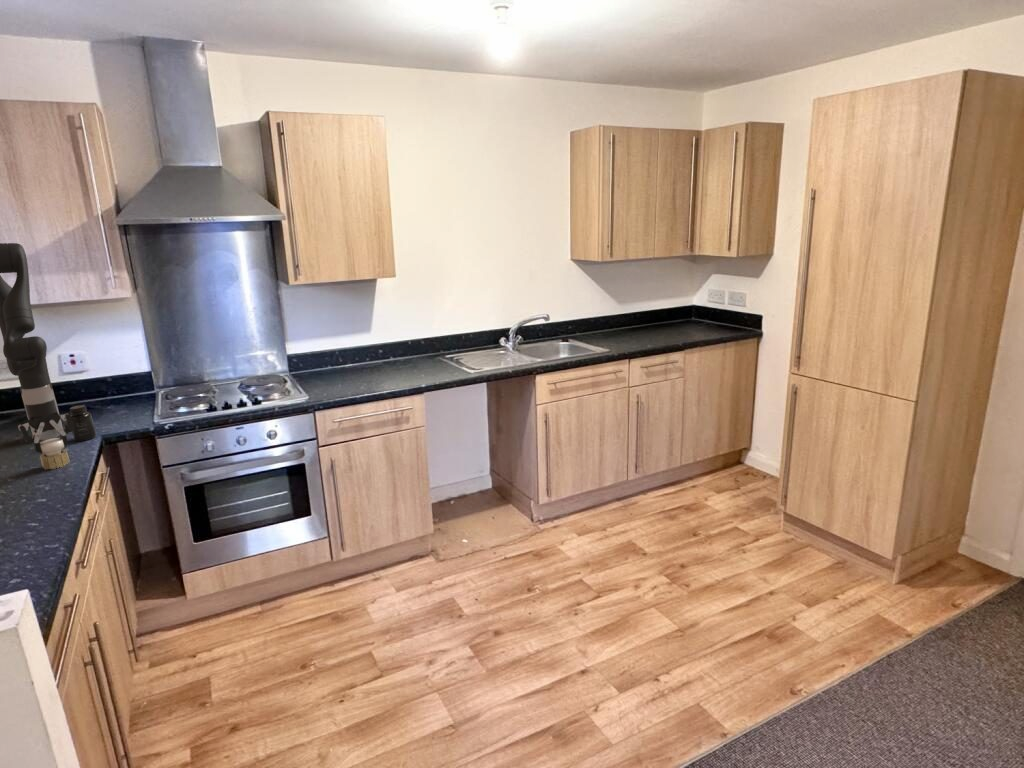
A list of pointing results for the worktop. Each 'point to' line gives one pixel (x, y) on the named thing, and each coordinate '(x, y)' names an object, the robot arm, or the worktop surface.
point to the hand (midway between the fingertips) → (52, 449)
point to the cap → (52, 446)
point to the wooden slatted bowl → (55, 460)
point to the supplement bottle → (82, 423)
